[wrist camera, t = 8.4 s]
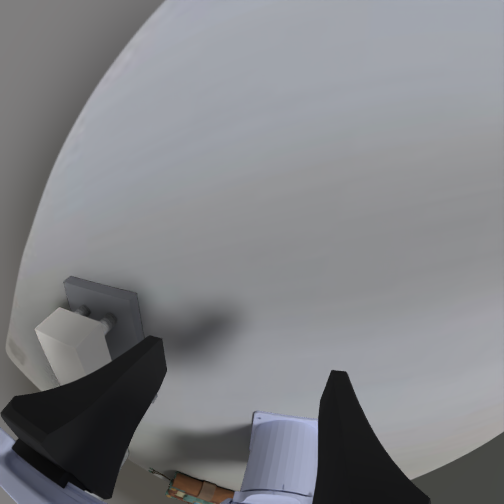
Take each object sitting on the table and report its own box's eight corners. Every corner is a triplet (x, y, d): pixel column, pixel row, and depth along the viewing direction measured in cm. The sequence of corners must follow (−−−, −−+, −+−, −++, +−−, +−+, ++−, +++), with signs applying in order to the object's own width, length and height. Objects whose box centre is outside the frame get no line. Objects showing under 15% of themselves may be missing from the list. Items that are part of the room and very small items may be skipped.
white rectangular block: (59, 306, 21) (34, 328, 18) (100, 321, 20) (75, 348, 17) (92, 393, 26) (77, 414, 23) (129, 409, 25) (114, 433, 22)
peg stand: (157, 396, 29) (144, 419, 26) (101, 375, 30) (86, 395, 27) (136, 293, 23) (113, 317, 20) (70, 276, 24) (46, 294, 21)
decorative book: (152, 456, 39) (142, 477, 34) (247, 490, 39) (241, 512, 34) (148, 473, 45) (139, 490, 40) (226, 502, 44) (220, 520, 40)
